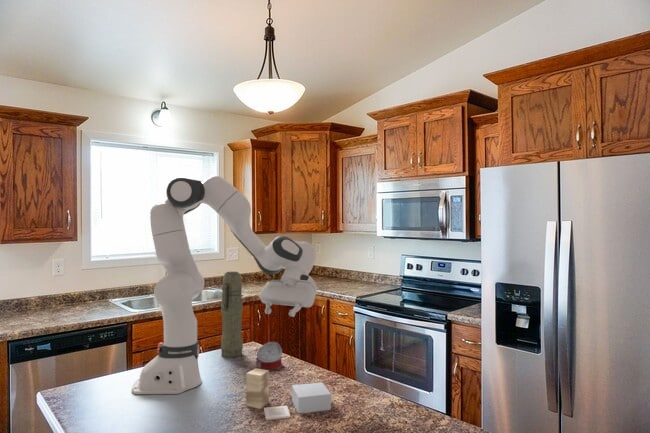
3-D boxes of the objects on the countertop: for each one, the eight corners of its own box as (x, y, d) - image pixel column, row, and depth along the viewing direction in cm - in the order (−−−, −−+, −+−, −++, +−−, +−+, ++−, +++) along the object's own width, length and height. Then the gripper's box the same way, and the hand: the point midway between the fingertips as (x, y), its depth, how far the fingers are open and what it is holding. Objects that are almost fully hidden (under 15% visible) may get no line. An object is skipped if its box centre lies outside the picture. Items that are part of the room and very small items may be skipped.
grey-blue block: (298, 414, 130) (298, 397, 130) (291, 401, 140) (291, 385, 140) (330, 410, 133) (331, 394, 133) (322, 397, 142) (322, 382, 142)
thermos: (247, 351, 191) (247, 270, 192) (234, 360, 180) (235, 274, 180) (229, 350, 194) (229, 270, 194) (215, 358, 182) (215, 273, 183)
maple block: (260, 408, 133) (260, 375, 133) (246, 405, 135) (246, 373, 136) (268, 402, 138) (269, 370, 138) (255, 399, 140) (255, 368, 140)
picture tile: (266, 420, 126) (266, 417, 126) (263, 409, 133) (263, 407, 133) (290, 417, 127) (290, 414, 127) (287, 407, 134) (287, 405, 134)
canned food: (281, 376, 175) (291, 355, 172) (262, 380, 167) (272, 359, 165) (266, 357, 182) (275, 337, 180) (247, 360, 174) (256, 339, 172)
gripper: (265, 274, 159) (249, 306, 150) (315, 277, 150) (302, 311, 142) (271, 285, 163) (256, 316, 154) (321, 288, 154) (308, 322, 146)
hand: (278, 314), depth 148 cm, fingers open, 8 cm apart
